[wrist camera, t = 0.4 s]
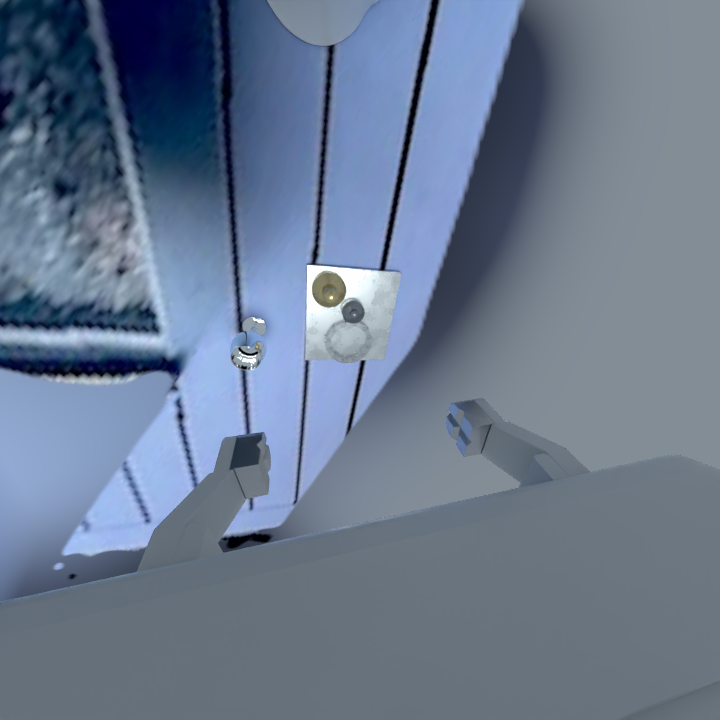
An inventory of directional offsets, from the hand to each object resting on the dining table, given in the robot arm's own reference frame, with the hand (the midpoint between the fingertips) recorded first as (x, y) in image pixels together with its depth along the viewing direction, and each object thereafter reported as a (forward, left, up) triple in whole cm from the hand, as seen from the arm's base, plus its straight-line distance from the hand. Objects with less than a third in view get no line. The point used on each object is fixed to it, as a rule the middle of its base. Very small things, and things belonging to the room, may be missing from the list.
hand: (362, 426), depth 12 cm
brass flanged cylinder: (+7, +4, -43) cm, 44 cm away
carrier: (+13, +9, -44) cm, 47 cm away
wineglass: (+16, -10, -45) cm, 49 cm away
